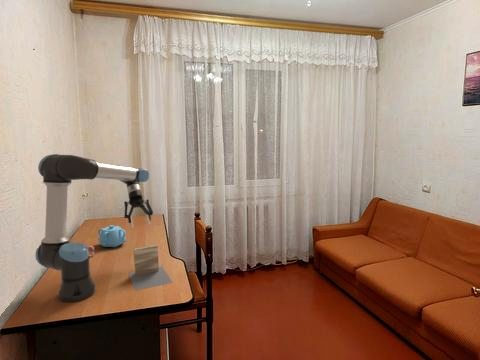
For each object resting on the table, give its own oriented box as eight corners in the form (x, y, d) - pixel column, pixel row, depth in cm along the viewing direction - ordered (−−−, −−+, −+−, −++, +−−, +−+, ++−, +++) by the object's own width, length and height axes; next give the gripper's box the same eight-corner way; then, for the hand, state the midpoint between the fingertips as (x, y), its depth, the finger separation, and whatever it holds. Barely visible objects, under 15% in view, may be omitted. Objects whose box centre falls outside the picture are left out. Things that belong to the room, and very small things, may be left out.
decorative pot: (100, 251, 201) (99, 230, 199) (98, 243, 215) (96, 224, 213) (127, 246, 209) (126, 226, 207) (123, 239, 223) (122, 221, 221)
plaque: (158, 270, 170) (157, 245, 168) (135, 275, 165) (134, 249, 163) (157, 269, 172) (156, 244, 170) (135, 273, 167) (133, 248, 165)
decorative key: (60, 263, 189) (95, 255, 193) (60, 264, 188) (95, 255, 192) (57, 253, 188) (93, 244, 192) (57, 253, 186) (92, 245, 191)
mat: (172, 283, 157) (172, 282, 157) (135, 291, 149) (135, 290, 148) (162, 267, 176) (162, 266, 176) (128, 273, 168) (128, 272, 168)
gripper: (152, 195, 195) (159, 227, 183) (115, 198, 186) (120, 232, 174) (153, 188, 190) (160, 220, 178) (116, 191, 180) (121, 225, 168)
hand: (141, 226), depth 176 cm, fingers open, 8 cm apart
